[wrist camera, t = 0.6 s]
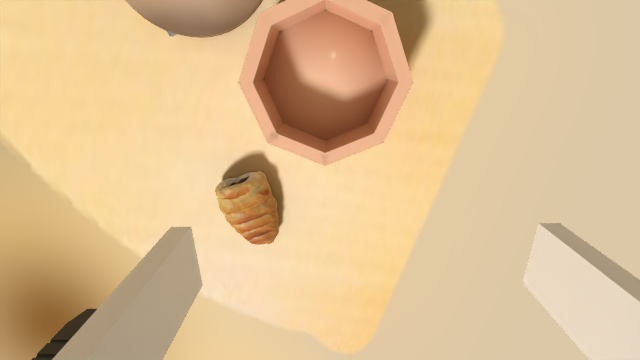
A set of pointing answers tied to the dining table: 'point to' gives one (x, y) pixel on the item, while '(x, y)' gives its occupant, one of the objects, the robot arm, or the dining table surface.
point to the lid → (196, 15)
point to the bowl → (325, 76)
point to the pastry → (250, 206)
